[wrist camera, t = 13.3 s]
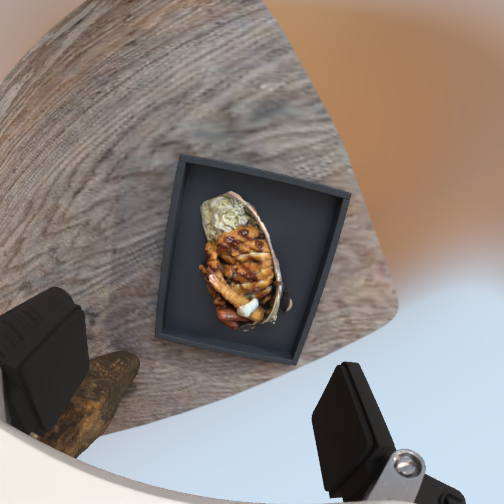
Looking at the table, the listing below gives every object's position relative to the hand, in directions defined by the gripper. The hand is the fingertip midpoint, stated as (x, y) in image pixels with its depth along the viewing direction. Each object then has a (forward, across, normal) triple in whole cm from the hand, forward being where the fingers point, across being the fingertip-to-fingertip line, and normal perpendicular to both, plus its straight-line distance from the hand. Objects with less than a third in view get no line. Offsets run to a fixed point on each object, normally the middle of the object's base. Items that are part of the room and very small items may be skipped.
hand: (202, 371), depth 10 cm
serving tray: (+17, -2, +2) cm, 18 cm away
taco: (+17, -1, +2) cm, 17 cm away
